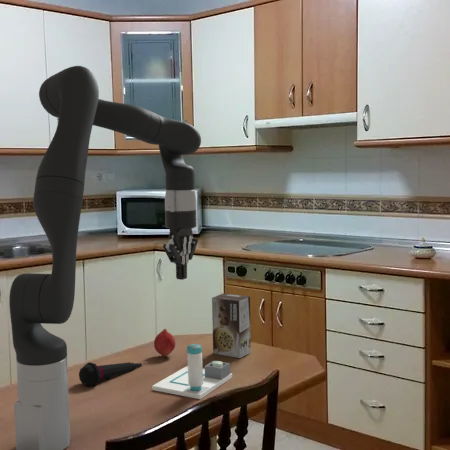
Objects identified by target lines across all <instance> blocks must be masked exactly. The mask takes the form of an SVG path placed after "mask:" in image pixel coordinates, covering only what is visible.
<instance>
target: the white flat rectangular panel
mask: <svg viewBox="0 0 450 450" xmlns="http://www.w3.org/2000/svg"><path fill="white" fill-rule="evenodd" d="M232 378H233V373H232V372H230V375H228V376H227V377H225V378H224V379H222V380H218V379H213V378H207V377H205V368H203V385H201V388H202V389H201V390H199V391H192V390H190V386H189V385H188V365H186V366H184V367H183V368H181V369H179V370H177V371H175V372H174V373H172V374H171V375H169V376H167V377H165V378H164V379H161V380H160V381H158V382H156V383H155V384H153V385H152V386H151V387H152V388H151V389H152V391H156V392H160V393H167V394H172V395H177V396H183V397H186V398H193V399H197V400H201V399H203V398H204V397H206V396H207V395H209V394H210V393H211V392H213V391H215V390H216V389H217V388H220V387H221V385H224V383H227V382H228V381H229V380H231V379H232Z"/></svg>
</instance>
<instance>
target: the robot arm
mask: <svg viewBox="0 0 450 450" xmlns="http://www.w3.org/2000/svg"><path fill="white" fill-rule="evenodd" d="M99 94H100V91H99V85H98V80H97V79H96V77H95V75H94V73H93V72H92V71H91V70H90V69H89V68H88V67H85V66H83V65H74V66H69V67H67V68H64V69H63V70H60V71H59V72H57V73H55V74H52V75H51V76H49V77H48V78H46V79H45V80H44V81H43V82H42V83H41V85H40V87H39V91H38V97H39V102H40V104H41V105H42V108H43V109H44V110H45V111H46V113H48V114H50V115H51V116H53V117H55V118H57V119H58V121H57V126H56V129H55V133H54V134H53V135H54V136H53V137H52V140H51V142H49V143H50V144H49V145H48V147H47V150H46V151H45V153H44V155H43V157H42V159H41V160H40V161H41V162H40V163H39V166H38V168H37V173H36V176H35V177H36V178H35V184H34V185H35V186H34V192H33V200H32V203H33V204H32V205H33V210H34V212H35V215H36V217H37V220H38V222H39V224H40V225H41V228H42V230H43V231H44V234H45V236H46V237H47V239H48V242H49V245H50V248H51V256H52V264H51V265H52V266H51V268H52V269H51V273H32V272H31V273H21V274H19V275H17V276H16V277H15V278H14V279H13V281H12V283H11V286H10V290H9V299H8V304H9V315H10V324H11V326H10V327H11V335H12V344H13V345H12V346H13V349H14V352H15V357H16V358H15V359H16V381H17V383H16V384H17V401H15V402H14V403H13V404H14V405H13V406H14V407H13V408H14V411H13V412H14V429H15V431H14V432H15V450H65V449H67V448H68V447H69V445H70V444H71V429H70V428H71V427H70V402H69V400H70V399H69V398H70V397H69V378H68V373H69V372H68V346H67V343H66V341H65V340H64V339H63V338H61V337H59V336H57V335H55V334H53V333H51V332H49V331H48V330H47V329H45V328H44V326H43V325H42V324H47V325H49V324H51V325H60V324H65V323H67V321H68V320H69V318H70V317H71V315H72V312H73V309H74V302H75V293H76V291H75V290H76V269H77V268H76V267H77V265H76V264H77V246H78V237H79V227H80V220H81V214H82V207H83V200H84V192H85V183H86V181H85V179H86V170H87V163H88V157H89V156H88V155H89V148H90V146H89V145H90V140H91V134H92V130H93V126H95V127H97V128H103V129H106V130H110V131H113V132H117V133H120V134H123V135H126V136H128V137H130V138H134V139H135V140H138V141H141V142H144V143H146V144H149V145H155V146H156V145H157V146H158V149H159V154H160V158H161V162H162V166H163V170H164V172H165V196H164V214H165V215H164V219H165V221H164V222H165V223H164V225H165V228H166V229H168V230H169V234H168V242H167V243H164V244H163V245H162V248H163V250H164V252H165V254H166V256H167V258H168V260H169V262H170V263H173V264H175V275H176V276H175V277H176V280H185V279H187V278H188V264H189V261H192V260H193V257H194V254H195V251H196V248H197V245H198V243H199V240H198V238H197V237H195V238H194V236H193V235H194V233H193V229H195V228H196V227H197V197H196V187H195V186H196V181H195V178H196V175H195V169H194V167H193V166H192V165H189V164H187V163H185V160H184V155H185V156H186V155H191V154H194V153H196V152H197V150H199V149H200V147H201V144H202V137H201V134H200V132H199V130H198V129H197V128H196V127H195V126H193V125H191V124H190V123H187V122H185V121H180V120H177V119H172V118H170V117H169V118H168V117H165V116H163V115H160V114H158V113H155V112H153V111H151V110H149V109H146V108H144V107H141V106H139V105H134V104H129V103H122V102H114V101H109V100H104V99H100V98H99V97H100V96H99Z"/></svg>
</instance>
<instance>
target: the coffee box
mask: <svg viewBox="0 0 450 450" xmlns="http://www.w3.org/2000/svg"><path fill="white" fill-rule="evenodd" d="M211 306H212V307H211V314H212V315H211V316H212V354H213V353H214V354H213V355H219V356H225V357H231V358H238V359H241V358H243V357H245V356H247V355H249V354H251V352H252V351H251V350H252V349H251V347H252V346H251V295H250V296H249V295H240V294H234V293H233V294H232V293H224V292H223V293H220V294H218V295H216V296H213V297H211Z"/></svg>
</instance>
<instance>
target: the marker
mask: <svg viewBox="0 0 450 450" xmlns="http://www.w3.org/2000/svg"><path fill="white" fill-rule="evenodd" d="M186 353H187V354H186V355H187V357H186V359H187V360H186V361H187V366H188V385H189V386H190V390H192V391H199V390H201V389H202V388H201V385H203V369H204V367H203V345H202V344H199V343H192V344H188V345H187V346H186Z"/></svg>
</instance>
